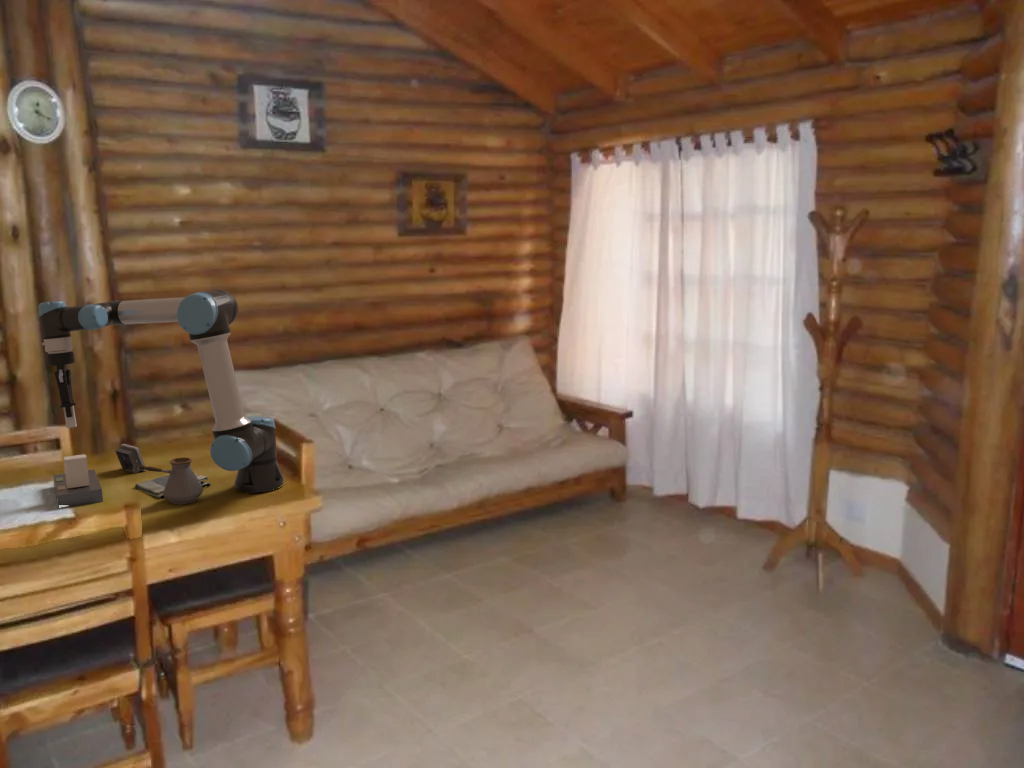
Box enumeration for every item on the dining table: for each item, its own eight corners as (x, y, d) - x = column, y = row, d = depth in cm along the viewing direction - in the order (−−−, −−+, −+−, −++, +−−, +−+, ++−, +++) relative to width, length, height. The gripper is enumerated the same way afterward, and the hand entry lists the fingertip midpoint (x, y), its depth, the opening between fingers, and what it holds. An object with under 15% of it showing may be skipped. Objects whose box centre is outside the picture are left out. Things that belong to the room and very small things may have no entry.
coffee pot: (187, 492, 259) (183, 446, 256) (211, 498, 253) (208, 451, 250) (126, 512, 241) (121, 463, 238) (151, 519, 235) (146, 469, 232)
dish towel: (133, 489, 264) (132, 479, 263) (185, 476, 277) (184, 467, 276) (160, 501, 252) (159, 491, 251) (214, 487, 265) (213, 478, 265)
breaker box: (103, 501, 250) (101, 488, 249) (58, 508, 244) (57, 494, 243) (95, 480, 270) (94, 468, 269) (54, 486, 264) (52, 474, 263)
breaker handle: (89, 485, 252) (86, 457, 250) (67, 488, 249) (64, 460, 247) (88, 481, 255) (85, 454, 254) (66, 484, 252) (63, 457, 250)
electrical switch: (147, 471, 281) (142, 445, 279) (133, 476, 277) (129, 450, 275) (131, 466, 286) (126, 441, 284) (117, 471, 282) (112, 446, 280)
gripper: (48, 352, 254) (61, 425, 258) (42, 354, 242) (55, 432, 246) (75, 349, 257) (87, 422, 260) (70, 351, 245) (82, 428, 248)
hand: (71, 427), depth 253 cm, fingers closed
